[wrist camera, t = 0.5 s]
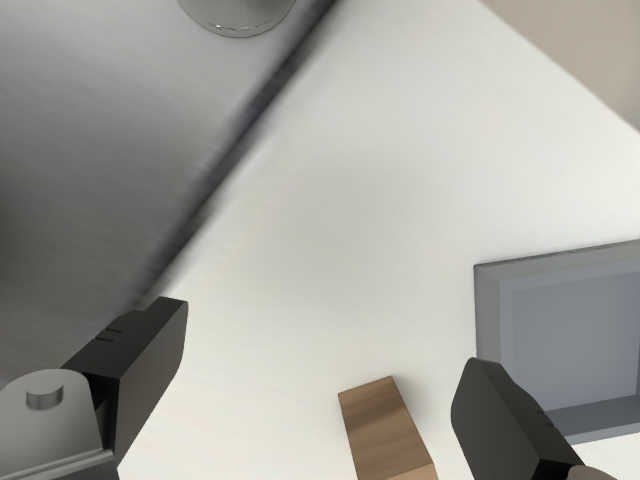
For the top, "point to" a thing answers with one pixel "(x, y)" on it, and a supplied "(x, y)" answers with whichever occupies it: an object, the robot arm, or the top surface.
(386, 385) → the walnut block
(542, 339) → the box
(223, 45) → the top surface
